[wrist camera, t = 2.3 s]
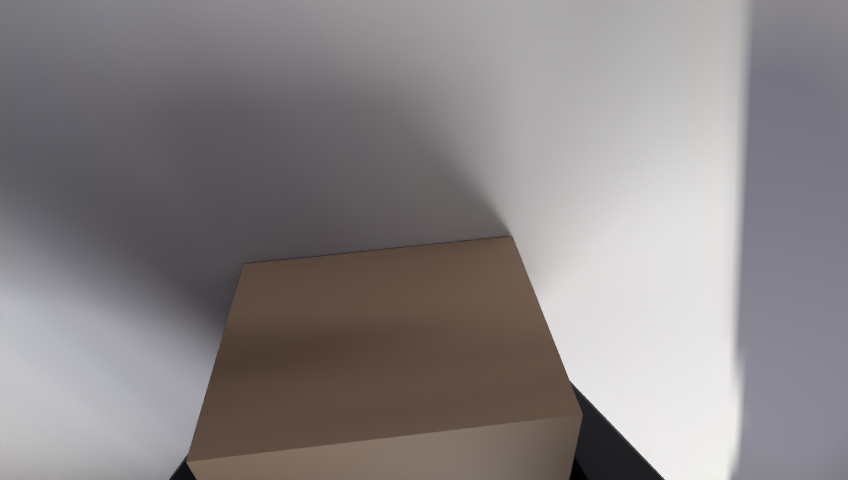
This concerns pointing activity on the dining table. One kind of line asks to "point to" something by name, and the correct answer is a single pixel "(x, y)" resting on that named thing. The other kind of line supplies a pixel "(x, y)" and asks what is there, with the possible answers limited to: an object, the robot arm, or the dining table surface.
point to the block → (388, 371)
